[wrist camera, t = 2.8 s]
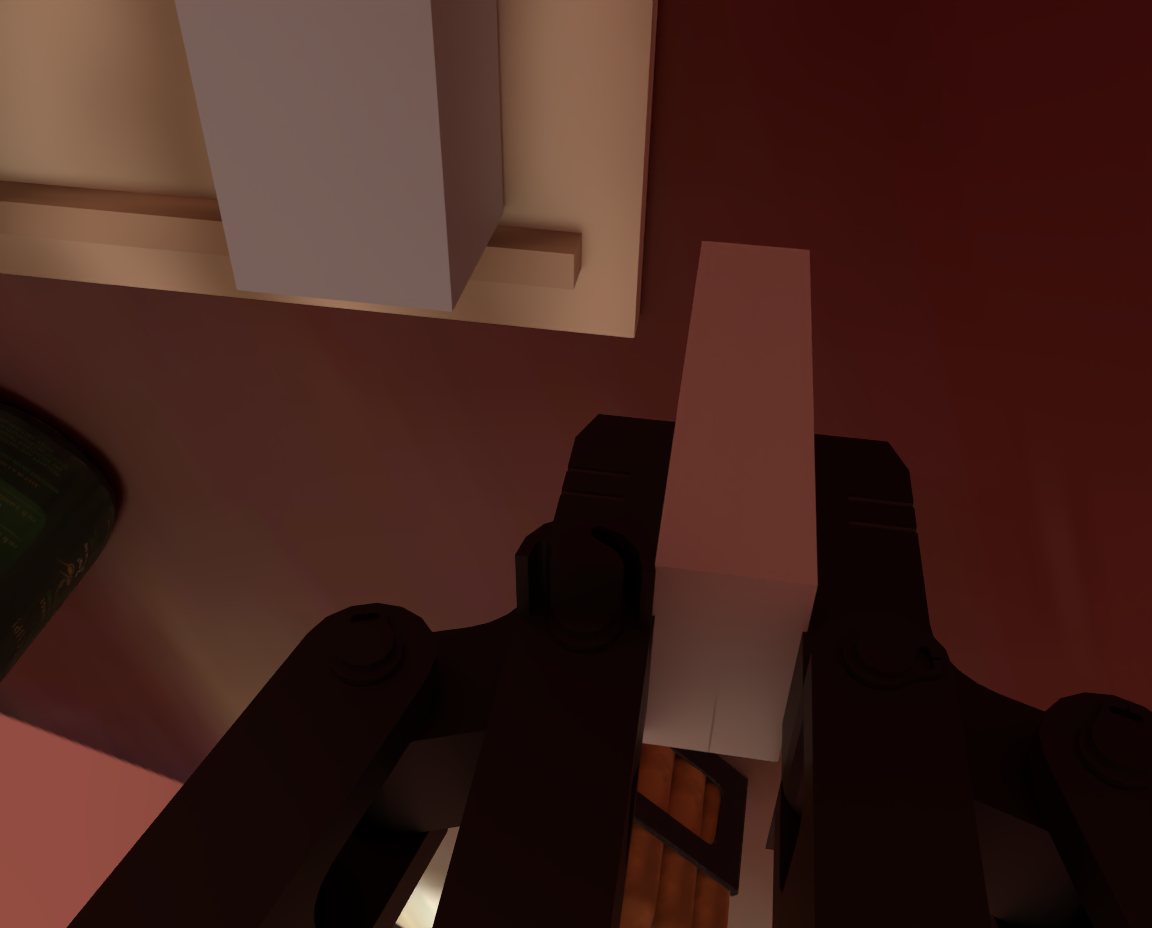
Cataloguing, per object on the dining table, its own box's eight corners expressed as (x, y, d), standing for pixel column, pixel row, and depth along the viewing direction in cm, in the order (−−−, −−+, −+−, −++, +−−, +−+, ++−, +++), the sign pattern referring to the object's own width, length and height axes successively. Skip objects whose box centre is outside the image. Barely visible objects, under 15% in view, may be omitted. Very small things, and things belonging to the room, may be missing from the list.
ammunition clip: (526, 650, 40) (440, 961, 30) (559, 630, 39) (481, 946, 29) (714, 794, 43) (689, 1111, 34) (749, 780, 42) (733, 1102, 33)
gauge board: (675, -311, 21) (662, -304, 19) (639, 316, 30) (628, 361, 28) (-302, -335, 23) (-397, -332, 22) (-66, 245, 32) (-118, 283, 31)
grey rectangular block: (486, -324, 20) (408, -313, 16) (503, 213, 27) (452, 312, 23) (237, -331, 20) (105, -321, 17) (316, 196, 27) (236, 289, 24)
